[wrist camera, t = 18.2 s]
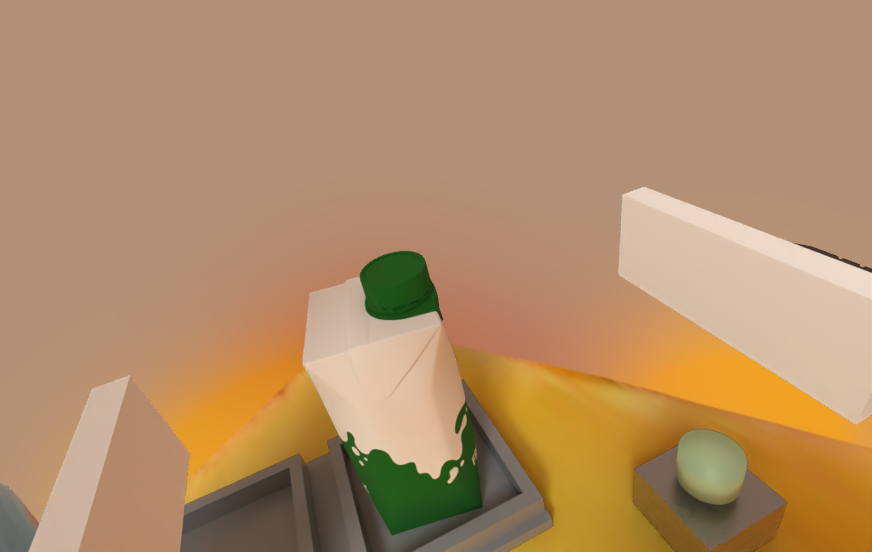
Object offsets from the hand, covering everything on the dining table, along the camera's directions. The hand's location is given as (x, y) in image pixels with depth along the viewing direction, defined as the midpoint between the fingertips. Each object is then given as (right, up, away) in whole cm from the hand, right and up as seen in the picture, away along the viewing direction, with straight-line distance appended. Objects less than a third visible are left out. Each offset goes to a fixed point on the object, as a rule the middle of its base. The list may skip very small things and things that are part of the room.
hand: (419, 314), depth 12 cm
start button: (+18, -12, +17) cm, 27 cm away
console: (+19, -16, +19) cm, 31 cm away
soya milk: (0, -16, +25) cm, 29 cm away
